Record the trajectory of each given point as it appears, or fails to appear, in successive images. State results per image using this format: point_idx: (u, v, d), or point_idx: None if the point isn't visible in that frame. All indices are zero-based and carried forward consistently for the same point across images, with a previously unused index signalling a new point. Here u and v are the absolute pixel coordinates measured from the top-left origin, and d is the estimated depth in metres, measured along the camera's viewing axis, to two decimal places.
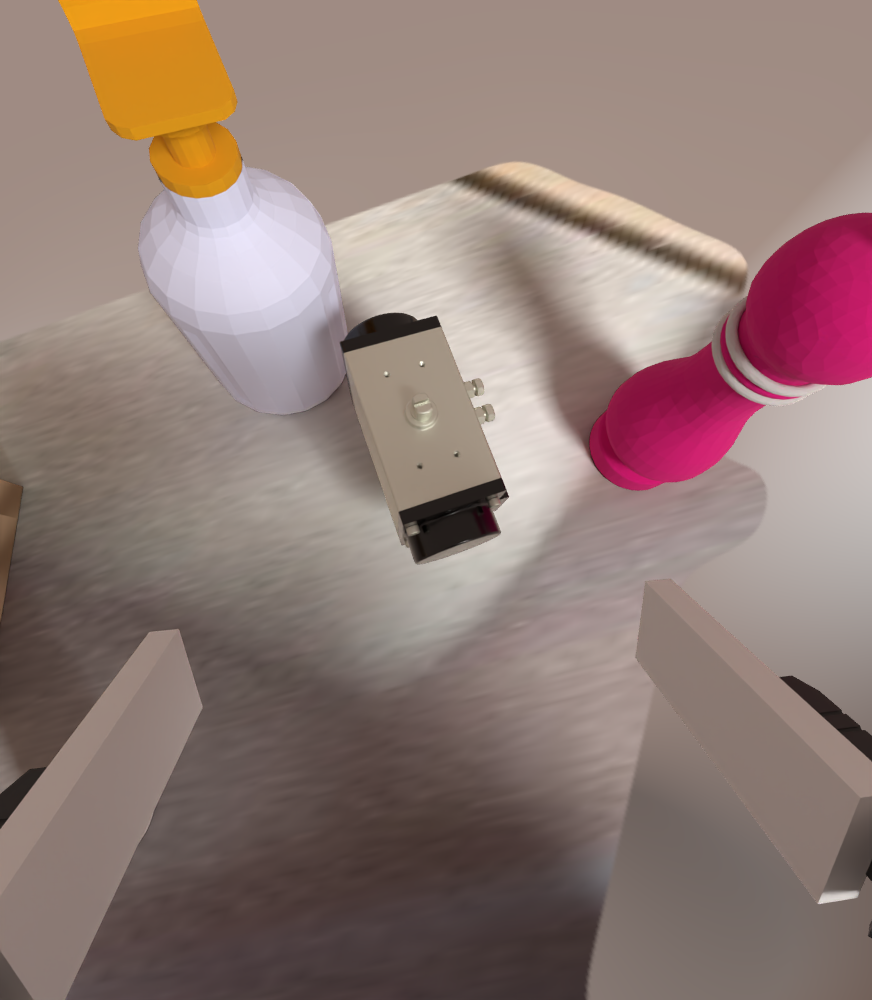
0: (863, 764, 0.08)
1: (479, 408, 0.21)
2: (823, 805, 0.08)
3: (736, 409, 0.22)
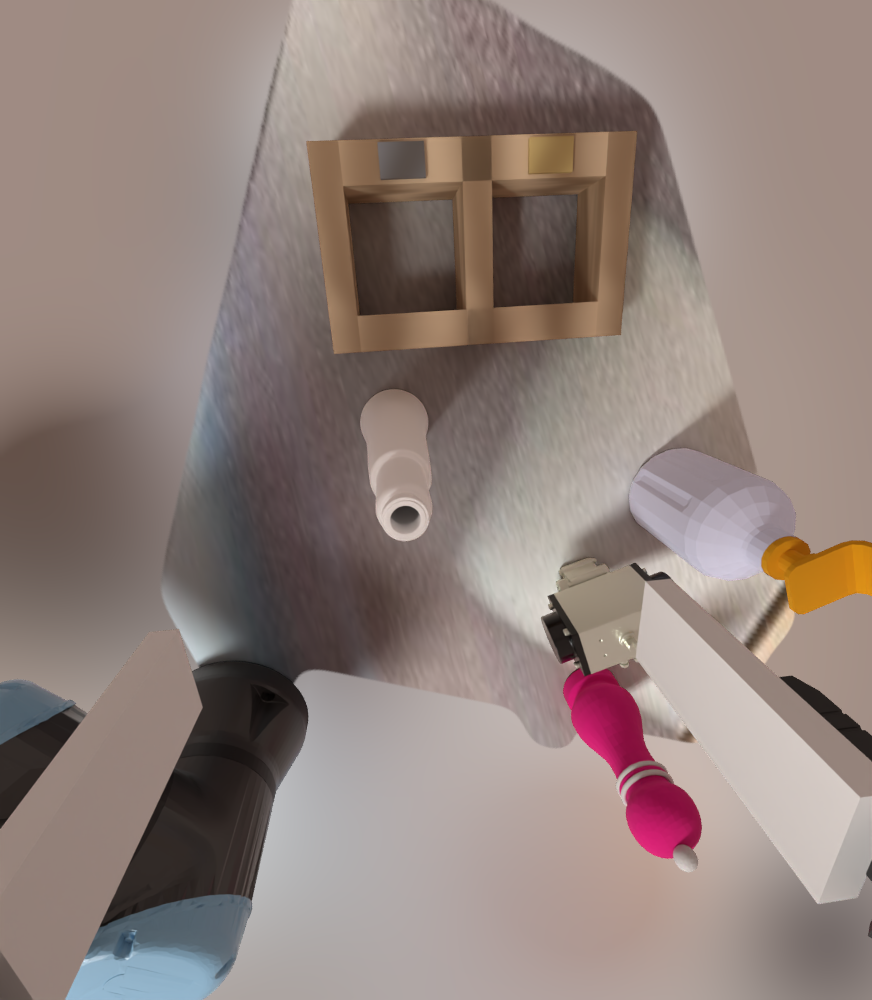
0: (863, 764, 0.08)
1: (627, 661, 0.41)
2: (823, 805, 0.08)
3: (614, 764, 0.45)
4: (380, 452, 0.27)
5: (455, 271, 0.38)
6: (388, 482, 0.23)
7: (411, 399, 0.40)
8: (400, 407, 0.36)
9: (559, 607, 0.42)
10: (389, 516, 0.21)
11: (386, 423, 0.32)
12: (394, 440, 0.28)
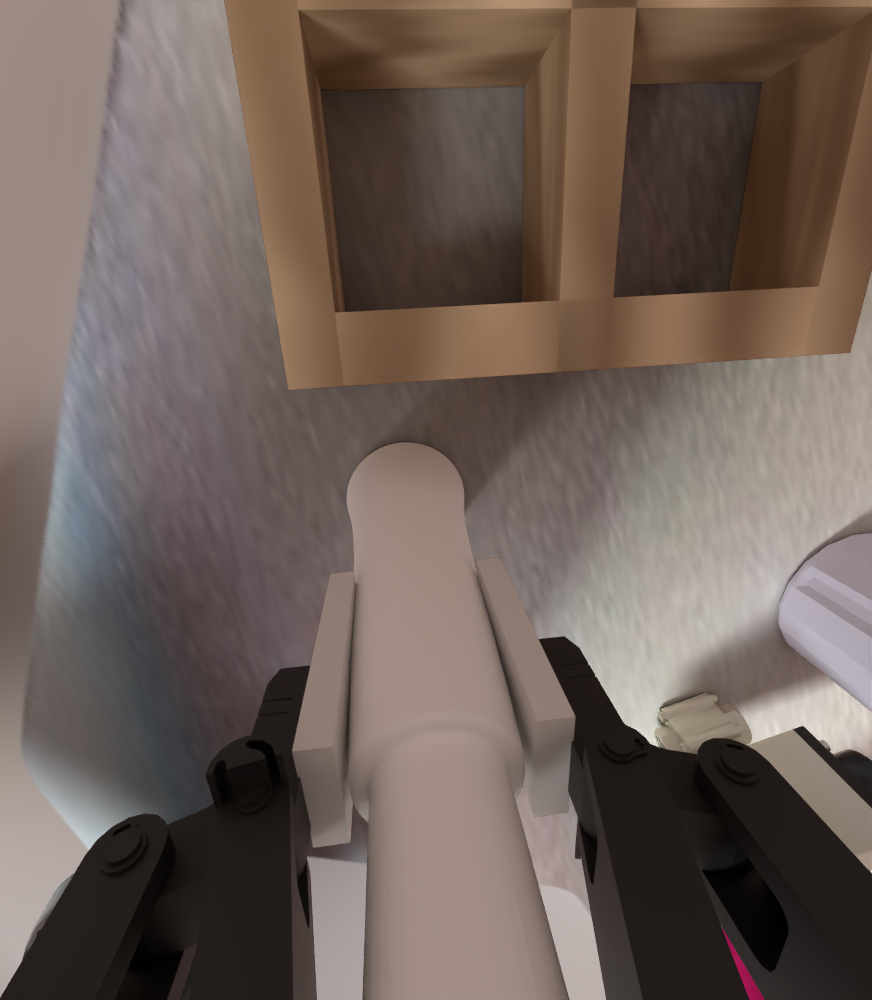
0: (557, 698, 0.09)
1: None
2: (530, 733, 0.10)
3: None
4: (381, 703, 0.09)
5: (523, 230, 0.20)
6: None
7: (438, 464, 0.22)
8: (421, 492, 0.18)
9: None
10: None
11: (395, 551, 0.14)
12: (417, 648, 0.10)
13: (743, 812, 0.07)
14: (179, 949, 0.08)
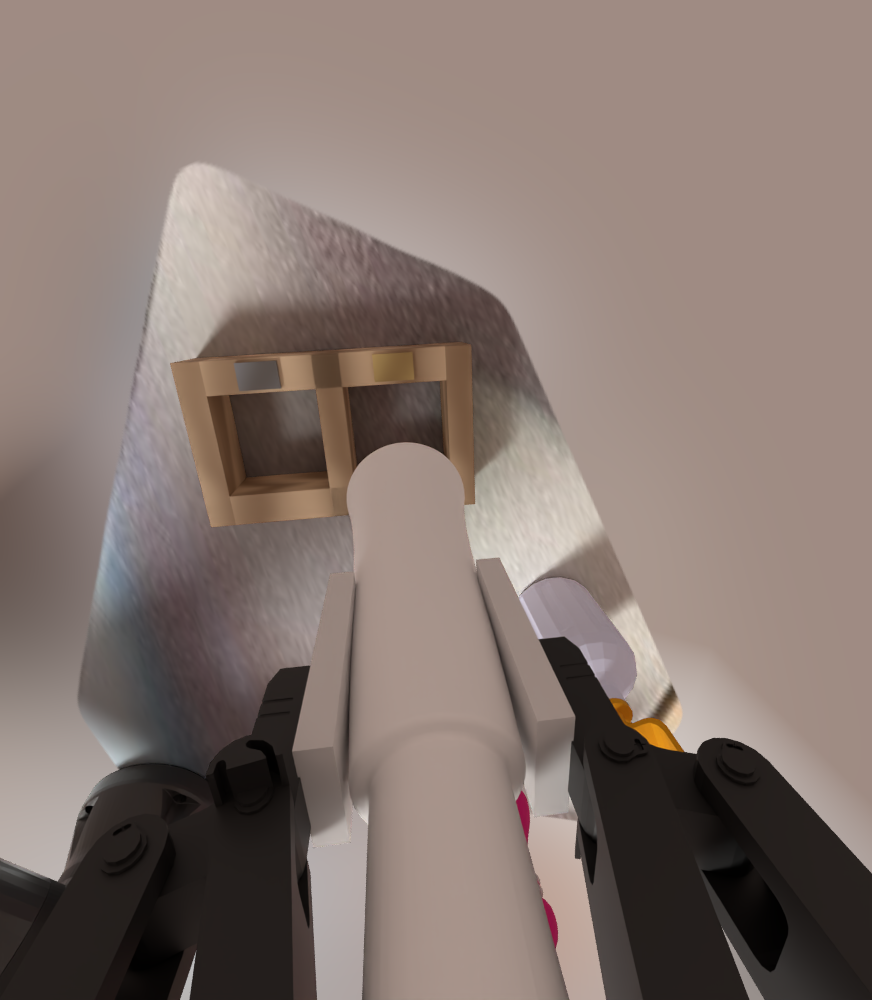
0: (557, 698, 0.09)
1: None
2: (529, 733, 0.10)
3: None
4: (380, 704, 0.09)
5: None
6: None
7: (438, 464, 0.22)
8: (421, 492, 0.18)
9: None
10: None
11: (395, 551, 0.14)
12: (417, 649, 0.10)
13: (743, 812, 0.07)
14: (179, 951, 0.08)
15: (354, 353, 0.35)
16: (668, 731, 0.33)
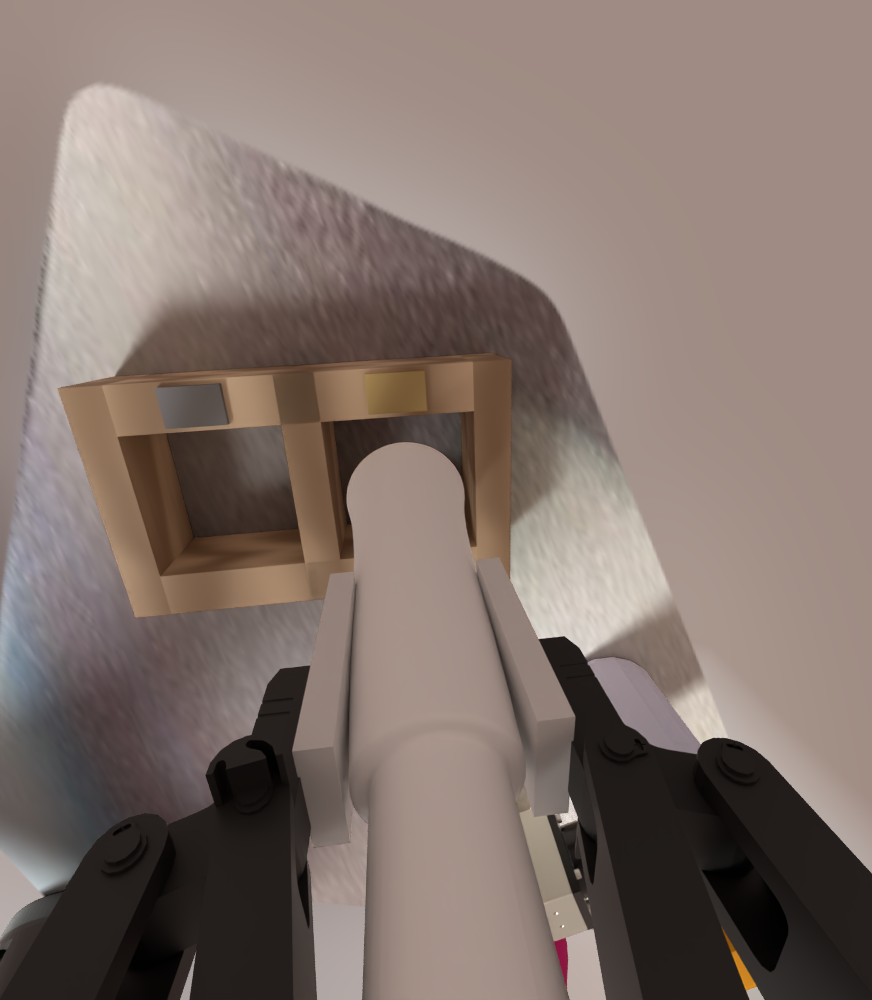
0: (557, 698, 0.09)
1: None
2: (530, 733, 0.10)
3: None
4: (380, 704, 0.09)
5: None
6: None
7: (438, 463, 0.22)
8: (421, 492, 0.18)
9: None
10: None
11: (395, 551, 0.14)
12: (417, 649, 0.10)
13: (743, 812, 0.07)
14: (179, 951, 0.08)
15: (338, 372, 0.23)
16: None
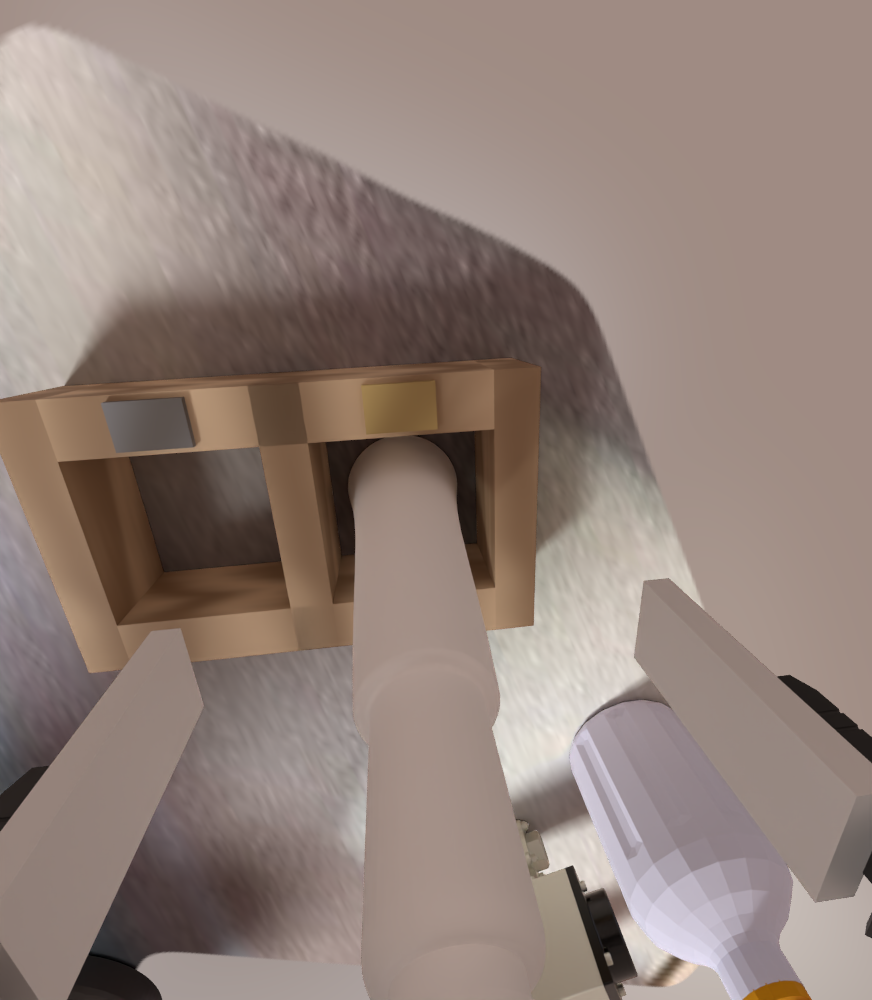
0: (860, 763, 0.08)
1: None
2: (820, 804, 0.08)
3: None
4: (379, 645, 0.11)
5: None
6: (402, 856, 0.07)
7: (432, 454, 0.24)
8: (415, 478, 0.20)
9: None
10: None
11: (391, 528, 0.16)
12: (410, 602, 0.12)
13: None
14: None
15: (328, 383, 0.19)
16: None
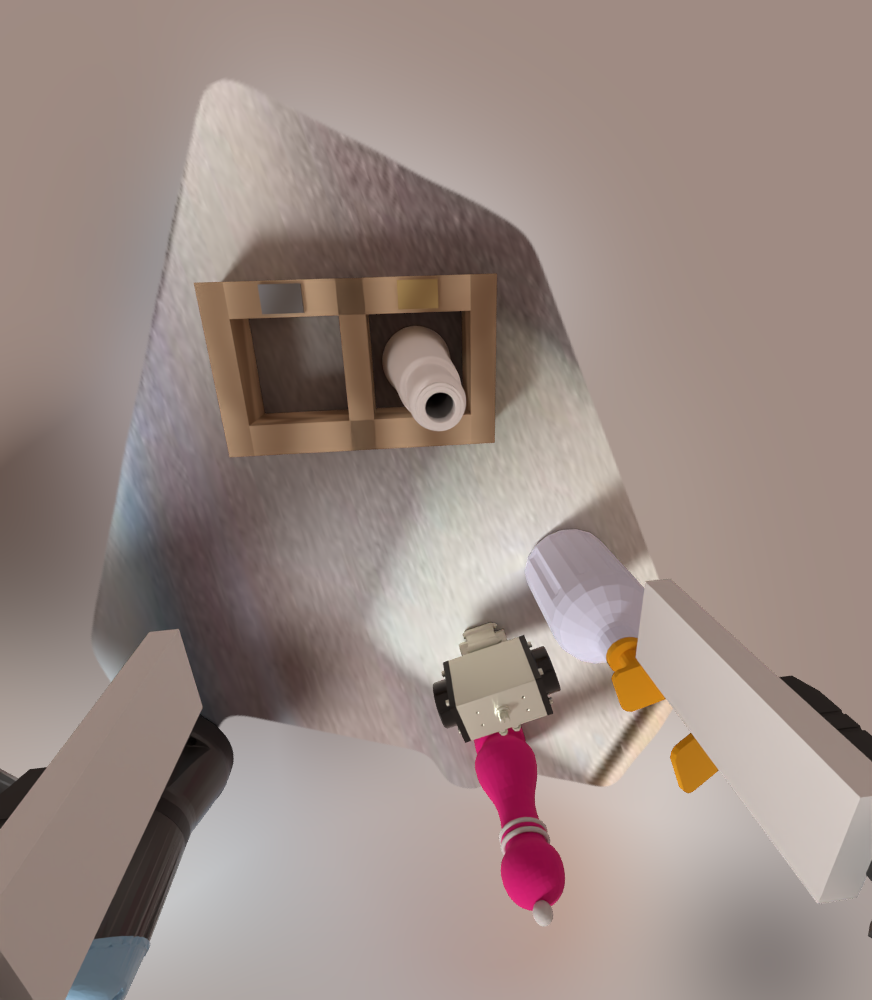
0: (863, 764, 0.08)
1: (505, 730, 0.45)
2: (823, 805, 0.08)
3: (501, 817, 0.49)
4: (410, 361, 0.27)
5: None
6: (422, 376, 0.23)
7: (435, 335, 0.39)
8: (425, 337, 0.36)
9: (448, 676, 0.46)
10: (424, 403, 0.21)
11: (413, 345, 0.32)
12: (423, 351, 0.28)
13: None
14: None
15: (378, 278, 0.34)
16: None
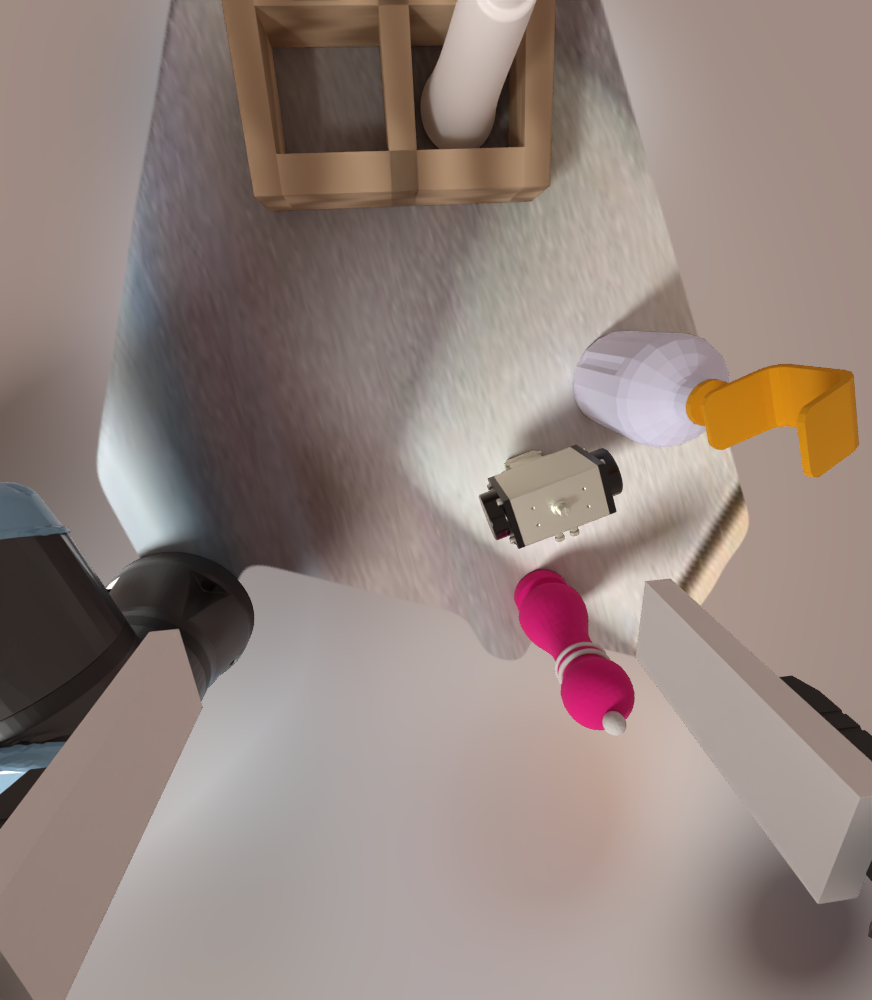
0: (863, 764, 0.08)
1: (562, 534, 0.40)
2: (823, 805, 0.08)
3: (555, 650, 0.44)
4: None
5: (385, 126, 0.37)
6: None
7: None
8: None
9: (496, 484, 0.42)
10: None
11: None
12: None
13: None
14: None
15: None
16: (794, 365, 0.28)
